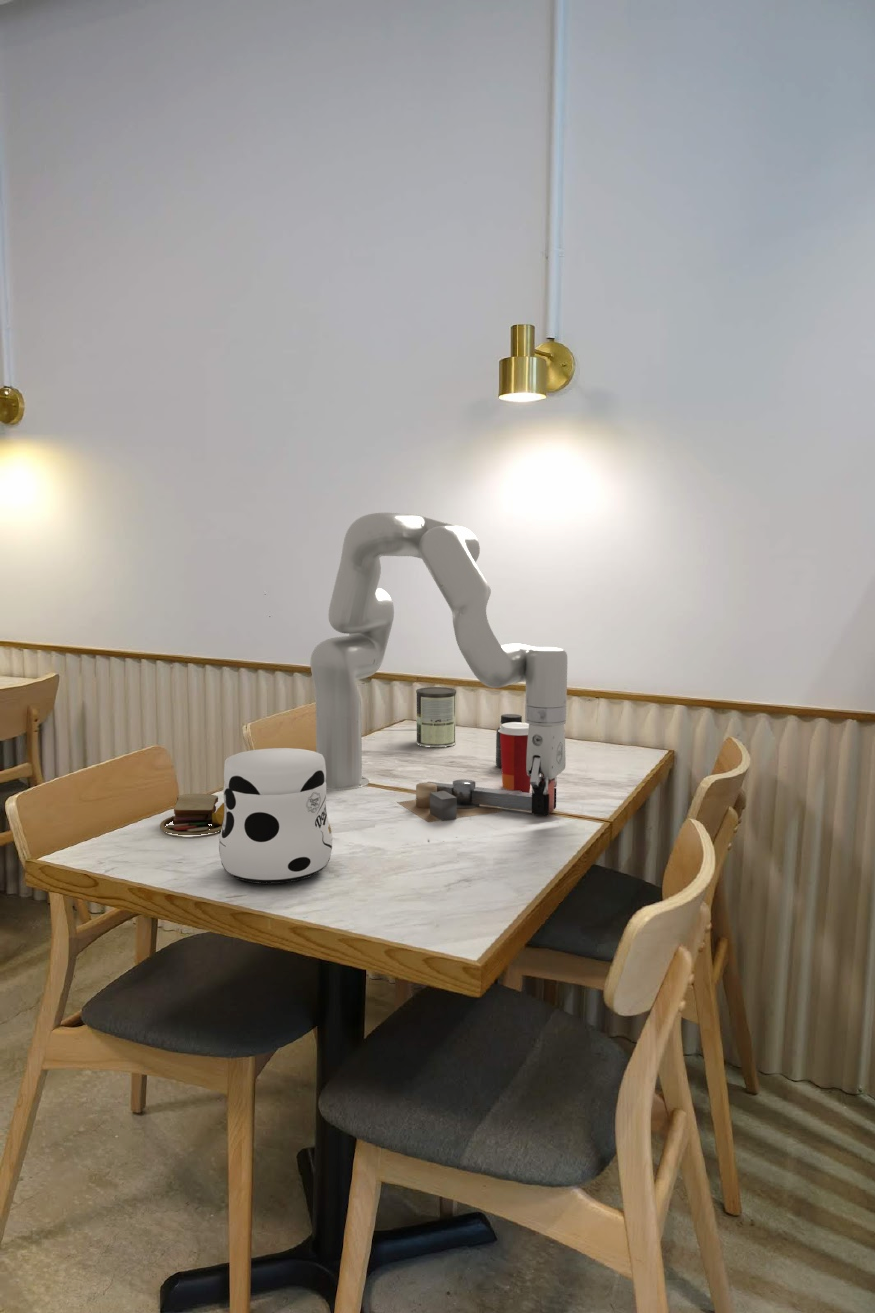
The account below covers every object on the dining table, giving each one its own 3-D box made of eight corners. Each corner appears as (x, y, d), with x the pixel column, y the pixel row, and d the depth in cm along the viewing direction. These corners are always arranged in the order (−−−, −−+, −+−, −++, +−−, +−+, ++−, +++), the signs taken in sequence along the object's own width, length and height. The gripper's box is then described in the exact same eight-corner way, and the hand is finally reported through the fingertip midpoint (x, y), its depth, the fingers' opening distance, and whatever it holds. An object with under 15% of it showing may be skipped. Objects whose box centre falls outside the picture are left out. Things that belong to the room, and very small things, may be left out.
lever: (421, 798, 174) (421, 770, 173) (430, 793, 178) (430, 765, 177) (550, 814, 164) (550, 784, 163) (556, 808, 168) (557, 778, 168)
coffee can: (407, 743, 232) (408, 689, 230) (438, 737, 239) (438, 685, 237) (433, 750, 224) (433, 694, 223) (464, 744, 231) (464, 690, 229)
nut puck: (424, 809, 169) (424, 789, 169) (411, 805, 173) (411, 784, 172) (441, 806, 172) (441, 785, 171) (428, 801, 175) (428, 781, 175)
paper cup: (537, 788, 189) (538, 722, 187) (531, 797, 182) (532, 729, 180) (501, 785, 191) (502, 720, 190) (493, 794, 184) (494, 727, 182)
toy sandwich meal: (150, 839, 155) (149, 813, 155) (173, 816, 169) (172, 791, 168) (221, 840, 155) (221, 813, 155) (239, 817, 169) (239, 792, 168)
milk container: (355, 870, 140) (354, 758, 138) (266, 902, 128) (264, 779, 125) (285, 845, 152) (284, 741, 150) (197, 873, 139) (194, 759, 137)
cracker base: (429, 827, 162) (429, 801, 161) (397, 807, 175) (397, 782, 174) (505, 816, 169) (506, 790, 168) (469, 797, 182) (469, 773, 181)
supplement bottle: (526, 770, 204) (527, 718, 203) (496, 769, 204) (497, 718, 203) (524, 763, 211) (524, 712, 210) (495, 762, 211) (495, 712, 210)
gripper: (552, 724, 156) (550, 826, 158) (577, 708, 171) (575, 802, 173) (511, 720, 159) (509, 821, 161) (539, 705, 174) (538, 797, 176)
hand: (543, 810), depth 167 cm, fingers closed on lever, 3 cm apart
